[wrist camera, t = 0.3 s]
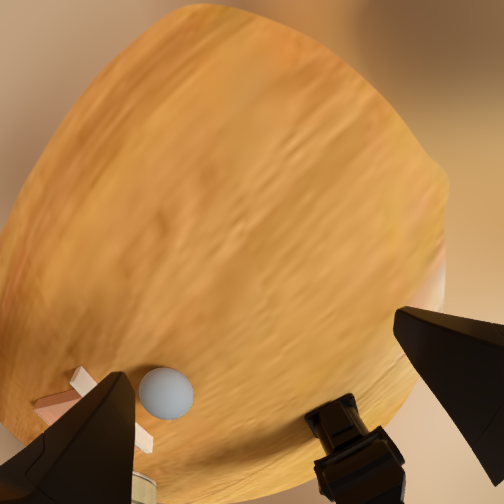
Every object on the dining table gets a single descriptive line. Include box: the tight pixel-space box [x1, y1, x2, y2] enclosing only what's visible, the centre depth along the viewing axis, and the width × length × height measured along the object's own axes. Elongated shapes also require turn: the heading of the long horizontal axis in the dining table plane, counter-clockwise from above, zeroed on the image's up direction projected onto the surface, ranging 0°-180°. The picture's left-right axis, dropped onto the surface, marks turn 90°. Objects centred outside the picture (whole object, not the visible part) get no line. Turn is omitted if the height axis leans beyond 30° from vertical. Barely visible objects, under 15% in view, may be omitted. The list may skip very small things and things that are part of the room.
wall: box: [69, 366, 153, 454], centre depth 22 cm, size 13×1×2 cm, turn 23°
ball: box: [139, 367, 194, 420], centre depth 21 cm, size 5×5×5 cm
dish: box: [33, 389, 139, 451], centre depth 23 cm, size 10×10×2 cm
